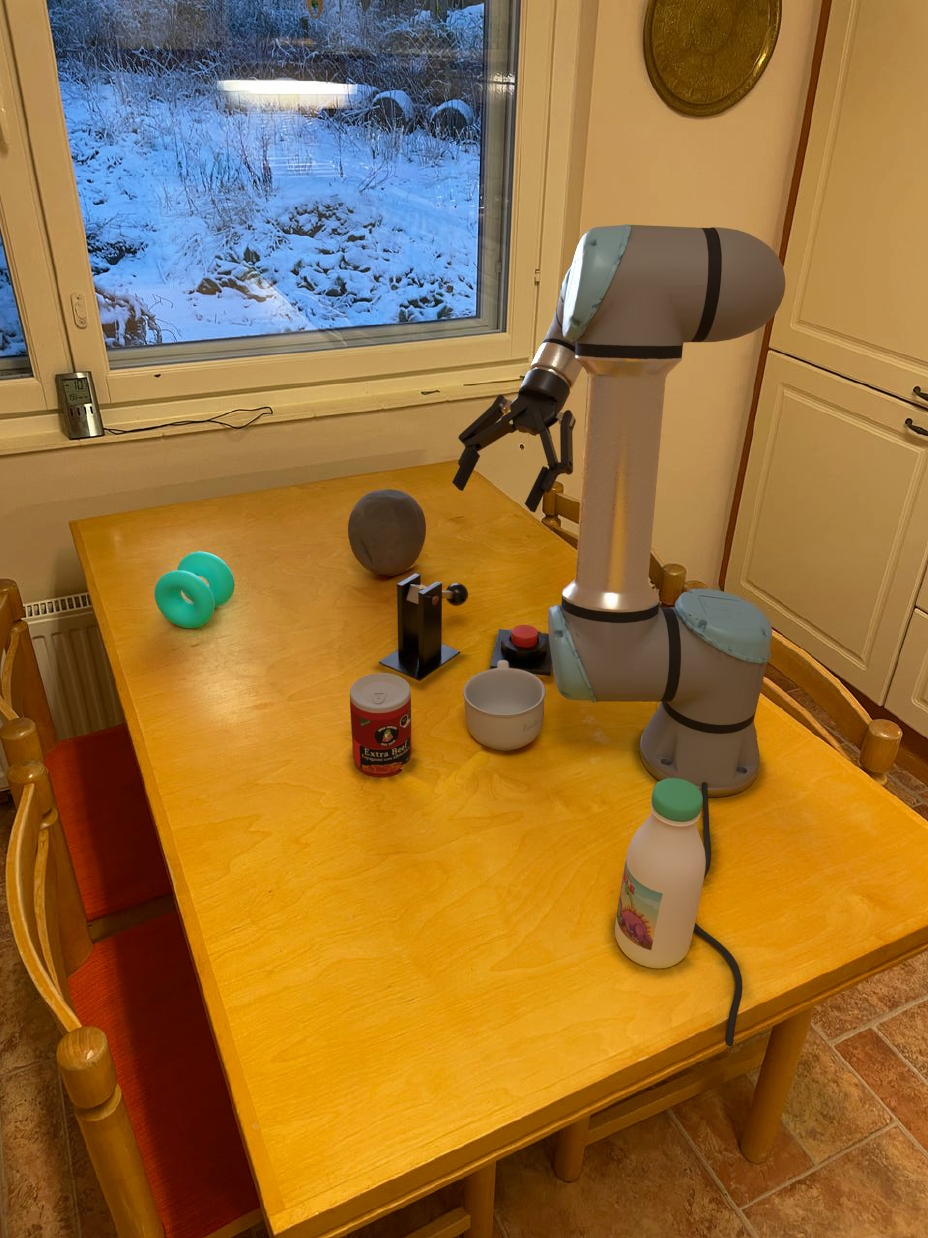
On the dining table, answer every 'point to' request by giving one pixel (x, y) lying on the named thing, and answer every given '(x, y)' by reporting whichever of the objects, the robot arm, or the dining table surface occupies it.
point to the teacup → (504, 707)
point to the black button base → (523, 654)
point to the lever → (453, 593)
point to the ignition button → (524, 636)
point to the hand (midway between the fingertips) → (492, 497)
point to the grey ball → (387, 531)
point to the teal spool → (194, 589)
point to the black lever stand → (419, 632)
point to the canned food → (381, 724)
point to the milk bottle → (663, 878)
